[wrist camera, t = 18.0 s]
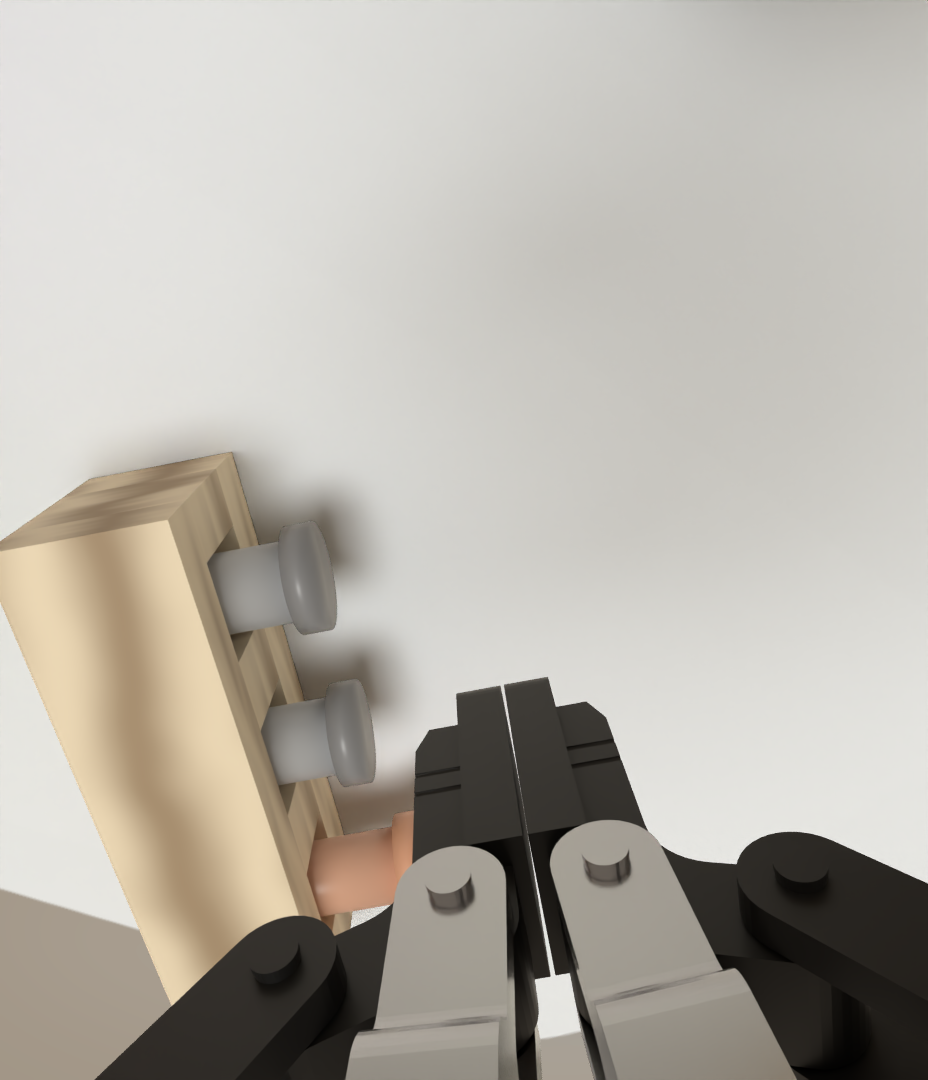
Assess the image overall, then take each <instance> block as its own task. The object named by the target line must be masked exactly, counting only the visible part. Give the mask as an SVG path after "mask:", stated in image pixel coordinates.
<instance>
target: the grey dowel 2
mask: <svg viewBox="0 0 928 1080" xmlns="http://www.w3.org/2000/svg"><path fill="white" fill-rule="evenodd" d="M261 734H262V737H263V740H264V743H265V746H266V749H267V753H268V756H269V759H270V762H271V765H272V768H273V771H274V774H275V777H276V781H277V784H278V785H284V784H289V783H295V782H300V781H306V780H312V779H317V778H323V777H328V776H334V775H337V778H338V780H339V782H340V783H341V785H342V786H344V787H349V786H354V785H360V784H365V783H371V782H373V780H374V777H375V769H376V753H375V740H374V732H373V725H372V720H371V714H370V710H369V706H368V702H367V698H366V695H365V692H364V689H363V687H362V685H361V683H360V681H359V680H358V679H352V680H346V681H341V682H335V683H331V684H329V685H328V688H327V691H326V697H325V698H319V699H314V700H308V701H303V702H297V703H292V704H286V705H281V706H275V707H270V708H268V711H267V714H266V717H265V720H264V723H263V726H262V728H261Z"/></svg>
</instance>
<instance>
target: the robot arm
mask: <svg viewBox="0 0 928 1080" xmlns="http://www.w3.org/2000/svg"><path fill="white" fill-rule="evenodd" d="M504 688H505V695H506V701H507V707H508V713H509V719H510V726H511V732H512V738H513V744H514V750H515V757H516V763H517V768H516V763H515V758H514V753H513V748H512V743H511V737H510V732H509V727H508V722H507V717H506V712H505V707H504V702H503V696H502V692H501V687H500V686H496V687H490V688H485V689H479V690H474V691H468V692H463V693H457V694H456V699H457V718H458V725H455V726H449V727H444V728H438V729H433V730H429V731H428V733H427V735H426V736H425V738H424V739H423V741H422V743H421V744H420V746H419V747H418V749H417V751H416V760H415V777H416V778H415V791H414V793H415V797H414V822H413V853H412V865H411V866H410V867H409V868H408V869H407V870H406V871H405V873H404V874H403V875H402V877H401V878H400V880H399V882H398V885H397V888H396V892H395V897H394V902H393V903H392V904H391V905H390V906H389V907H388V908H387V909H385V910H384V911H383V912H381V913H380V914H378V915H377V916H375V917H374V918H372V919H370V920H368V921H366V922H364V923H362V924H360V925H357V926H355V927H353V928H351V929H349V930H346V931H344V932H342V933H340V934H338V935H335V936H334V934H333V932H332V930H331V929H330V928H329V927H328V926H327V925H326V924H325V923H324V922H322V921H321V920H319V919H316V918H313V917H309V916H288V917H283V918H279V919H276V920H273V921H271V922H268V923H266V924H264V925H262V926H260V927H258V928H256V929H255V930H253V931H252V932H250V933H249V934H248V935H246V936H245V937H244V938H243V939H242V940H241V941H239V942H238V943H237V944H236V945H235V946H234V947H233V948H232V949H231V950H230V951H229V952H228V953H227V954H226V955H225V956H224V957H223V958H222V959H221V960H219V961H218V962H217V963H216V964H215V965H214V966H213V967H212V968H211V969H210V970H209V971H208V972H207V973H206V974H205V975H204V976H203V977H202V978H201V979H200V980H199V981H197V982H196V983H195V984H194V985H193V986H192V987H191V988H190V989H189V990H188V991H187V992H186V993H185V994H184V995H183V996H182V997H181V998H180V999H179V1000H178V1001H177V1002H176V1003H174V1004H173V1005H172V1006H171V1007H170V1008H169V1009H168V1010H167V1011H166V1012H165V1013H164V1014H163V1015H162V1016H161V1017H160V1018H159V1019H158V1020H157V1021H156V1022H155V1023H154V1024H152V1026H150V1027H149V1028H148V1029H147V1030H146V1031H145V1032H144V1033H143V1034H142V1035H141V1036H140V1037H139V1038H138V1039H137V1040H136V1041H135V1042H134V1043H133V1044H132V1045H130V1046H129V1047H128V1048H127V1049H126V1050H125V1051H124V1052H123V1053H122V1054H121V1055H120V1056H119V1057H118V1058H117V1059H116V1060H115V1061H114V1062H113V1063H112V1064H111V1065H110V1066H108V1067H107V1068H106V1069H105V1070H104V1071H103V1072H102V1073H101V1074H100V1075H99V1076H98V1077H97V1078H96V1079H95V1080H542V1069H541V1050H540V1037H539V1031H538V1026H537V1021H538V1014H539V1011H538V1000H537V993H536V985H535V979H539V978H545V977H551V976H550V970H549V963H548V957H547V951H546V945H545V938H544V932H543V926H542V920H541V914H540V907H539V901H538V895H537V889H536V882H535V876H534V870H533V864H532V857H533V862H534V868H535V873H536V878H537V883H538V888H539V893H540V898H541V903H542V908H543V914H544V919H545V924H546V929H547V934H548V939H549V944H550V949H551V954H552V960H553V965H554V970H555V975H560V974H566V973H570V976H571V981H572V987H573V992H574V997H575V1001H576V1007H577V1012H578V1018H579V1023H580V1028H581V1034H582V1037H583V1041H584V1045H585V1048H586V1052H587V1056H588V1059H589V1063H590V1067H591V1070H592V1074H593V1078H594V1080H928V883H925V882H923V881H921V880H919V879H916V878H914V877H912V876H910V875H908V874H905V873H903V872H901V871H899V870H896V869H894V868H892V867H890V866H887V865H885V864H883V863H881V862H879V861H876V860H874V859H872V858H870V857H867V856H865V855H863V854H861V853H858V852H856V851H854V850H852V849H850V848H847V847H845V846H843V845H841V844H838V843H836V842H834V841H832V840H829V839H827V838H824V837H821V836H817V835H814V834H809V833H802V832H781V833H775V834H770V835H767V836H764V837H761V838H759V839H757V840H755V841H754V842H752V843H751V844H750V845H748V846H747V847H746V848H745V849H744V850H743V852H742V853H741V855H740V857H739V859H738V861H737V864H725V863H712V862H703V861H696V860H692V859H688V858H685V857H682V856H680V855H677V854H675V853H673V852H671V851H669V850H667V849H666V848H664V847H663V846H661V845H660V844H659V842H658V840H657V839H656V838H655V837H654V836H653V835H652V834H651V833H649V832H648V830H647V828H646V826H645V824H644V821H643V818H642V815H641V813H640V810H639V807H638V804H637V802H636V799H635V796H634V793H633V791H632V788H631V785H630V782H629V780H628V777H627V774H626V771H625V769H624V766H623V763H622V760H621V759H620V755H619V752H618V749H617V747H616V744H615V743H614V738H613V736H612V733H611V730H610V727H609V725H608V722H607V719H606V717H605V716H604V715H602V714H601V713H600V712H599V711H597V710H596V709H595V708H594V707H592V706H591V705H590V704H589V703H587V702H581V703H576V704H570V705H565V706H559V707H556V706H555V702H554V699H553V695H552V691H551V687H550V683H549V680H548V677H544V678H539V679H533V680H528V681H522V682H517V683H511V684H506V685H504ZM517 769H518V774H517ZM518 775H519V779H518ZM519 782H520V784H519ZM520 788H521V790H520ZM521 794H522V796H521ZM522 800H523V801H522ZM523 806H524V808H523ZM524 813H525V814H524ZM525 819H526V820H525ZM526 825H527V826H526ZM527 831H528V832H527ZM528 837H529V839H528ZM529 842H530V845H529ZM530 847H531V851H530ZM531 852H532V857H531Z"/></svg>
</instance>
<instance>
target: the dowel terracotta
mask: <svg viewBox="0 0 928 1080" xmlns="http://www.w3.org/2000/svg"><path fill="white" fill-rule="evenodd" d="M413 822H414V810H412V811H406V812H401V813H395V814H394V816H393V820H392V827H387V828H381V829H376V830H370V831H364V832H359V833H353V834H347V835H342V836H336V837H330V838H325V839H319V840H313V845H312V850H311V855H310V860H309V865H308V870H307V877H308V880H309V883H310V887H311V890H312V893H313V896H314V899H315V902H316V905H317V908H318V912H319V915H320V917H322V916H328V915H334V914H340V913H345V912H351V911H357V910H362V909H368V908H374V907H380V906H385V905H391V904H392V903H393V902H394V897H395V892H396V888H397V885H398V882H399V880H400V878H401V877H402V875H403V874H404V873H405V871H406V870H407V869H408V868H409V867H410V866H411V865H412V853H413Z"/></svg>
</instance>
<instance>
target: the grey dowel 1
mask: <svg viewBox="0 0 928 1080" xmlns="http://www.w3.org/2000/svg"><path fill="white" fill-rule="evenodd" d="M207 565H208V569H209V572H210V575H211V578H212V581H213V584H214V587H215V590H216V594H217V597H218V600H219V603H220V606H221V609H222V612H223V615H224V618H225V622H226V625H227V628H228V631H229V634H230V635H231V634H236V633H242V632H247V631H252V630H258V629H263V628H269V627H274V626H279V625H285V624H290V623H294V625H295V627H296V628H297V630H298V631H299V632H300V633H301V634H302V635H307V634H312V633H318V632H323V631H328V630H333V629H334V627H335V625H336V619H337V599H336V589H335V582H334V576H333V570H332V565H331V561H330V557H329V553H328V550H327V546H326V543H325V540H324V538H323V535H322V533H321V531H320V529H319V527H318V525H317V524H316V523H315V522H314V521H310V522H304V523H299V524H294V525H288V526H284V527H282V529H281V531H280V535H279V541H278V542H273V543H268V544H262V545H257V546H252V547H247V548H241V549H236V550H231V551H225V552H220V553H215V554H213V555H212V556H211V558H210V559H209V561H208V562H207Z"/></svg>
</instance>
